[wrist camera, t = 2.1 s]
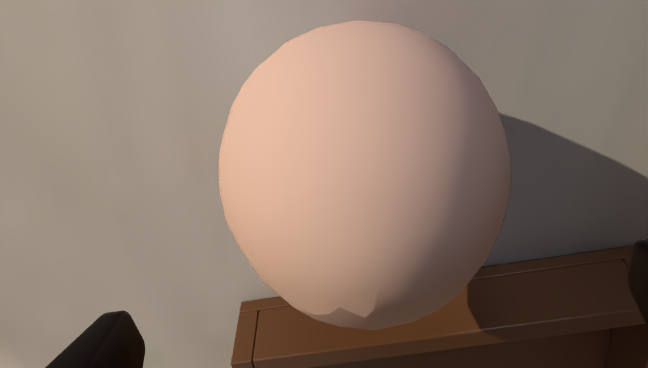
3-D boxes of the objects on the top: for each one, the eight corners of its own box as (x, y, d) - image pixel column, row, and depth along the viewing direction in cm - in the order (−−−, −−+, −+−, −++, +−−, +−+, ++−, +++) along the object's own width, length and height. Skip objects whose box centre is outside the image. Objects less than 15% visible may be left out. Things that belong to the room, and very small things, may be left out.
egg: (495, 143, 18) (616, 339, 10) (310, 227, 19) (307, 442, 12) (408, -62, 14) (501, 24, 7) (193, 64, 16) (96, 232, 9)
